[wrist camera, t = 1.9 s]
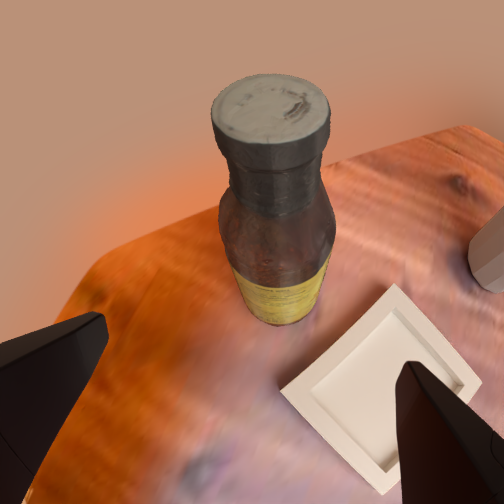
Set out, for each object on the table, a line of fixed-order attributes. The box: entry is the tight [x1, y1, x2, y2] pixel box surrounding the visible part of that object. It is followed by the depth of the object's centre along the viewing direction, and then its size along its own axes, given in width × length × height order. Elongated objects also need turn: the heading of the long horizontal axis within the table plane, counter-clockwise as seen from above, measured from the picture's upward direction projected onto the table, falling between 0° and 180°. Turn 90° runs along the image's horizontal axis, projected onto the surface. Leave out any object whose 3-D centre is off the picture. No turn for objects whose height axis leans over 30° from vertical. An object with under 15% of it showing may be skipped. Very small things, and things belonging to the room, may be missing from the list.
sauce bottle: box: [211, 74, 336, 327], centre depth 18 cm, size 7×6×20 cm
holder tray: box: [280, 283, 482, 495], centre depth 22 cm, size 13×13×2 cm
